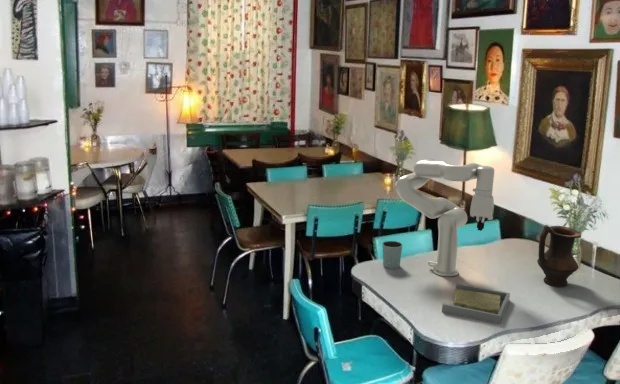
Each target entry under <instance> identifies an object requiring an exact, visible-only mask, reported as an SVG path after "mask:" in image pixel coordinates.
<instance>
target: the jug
mask: <svg viewBox="0 0 620 384" xmlns="http://www.w3.org/2000/svg"><path fill="white" fill-rule="evenodd" d="M548 234H549V236H550V237H549V239H550V241H549V245H548V249H547V250H546V249H545V247H546V239H547V237H548ZM581 237H582V233H581V232H579V231H578V230H576V229H573V228H571V227H568V226H565V225H564V226H562V225H548V224H545V225H544V227H543V229H542V231H541V233H540V235H539V241H538V255H537V256H538V259H537V261H536V262H537V264H538V266H539V268H540V269H541V270H542V272H543V274H544V278H543V282H544V283H545V284H547V285H549V286H551V287H557V288H564V287H567V286H568V285H569V284H568V278H569V277H570V276H571V275H573V274H574V273H575V272H576V271H577V270H578V269H579V268H580V267H579V265H578V262H577V260H576V259H575V258H574V256H573V253H572V251H573V246H574V244H575V243H574V242H575V239H578V238H581ZM545 250H546V251H545Z"/></svg>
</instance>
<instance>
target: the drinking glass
mask: <svg viewBox="0 0 620 384" xmlns="http://www.w3.org/2000/svg"><path fill="white" fill-rule="evenodd" d="M402 250H403V243H402V242H400V241H396V240H385V241H383V242H382V266H383V267H384V268H386V269H392V270H394V269H400V266H401V256H402V252H403V251H402Z"/></svg>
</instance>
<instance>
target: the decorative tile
mask: <svg viewBox="0 0 620 384" xmlns="http://www.w3.org/2000/svg"><path fill="white" fill-rule="evenodd" d="M453 299H454V300H453V305H454V306H459V307H464V308H469V309H474V310H478V311H483V312H488V313H493V314H498V312H499V310H500V308H501V300H500V299H501V297H500V295H495V294H489V293H482V292H474V291H467V290H462V289H457V290H456V289H455V292H454V297H453Z"/></svg>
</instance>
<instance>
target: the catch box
mask: <svg viewBox="0 0 620 384" xmlns="http://www.w3.org/2000/svg"><path fill="white" fill-rule="evenodd" d="M457 289H462V290H467V291H474V292H482V293H489V294H495V295H500V297H501V299H500V301H503V302H502V303H501V305H500V310H499V312H498V314H493V313H488V312H483V311H478V310H474V309H469V308H464V307H459V306H454V304H448V303H442V304H441V305H442V307H441V313H445V314H448V315H449V314H451V315H456V316H460V317H465V318H468V319H469V318H470V319H472V320H473V319H475V320H478V321H483V322H489V323H493V324H498V325H499V324H500V323H501V321H502V318H503V316H504V314H505V312H506V309H507V307H508V304H509V303H510V297H511V293H510V292H505V291H500V290H494V289H489V288H484V287H481V286H480V287H479V286H473V285H469V284H464V283H463V284H462V283H458V282H456V284H455V291H456V290H457Z"/></svg>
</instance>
